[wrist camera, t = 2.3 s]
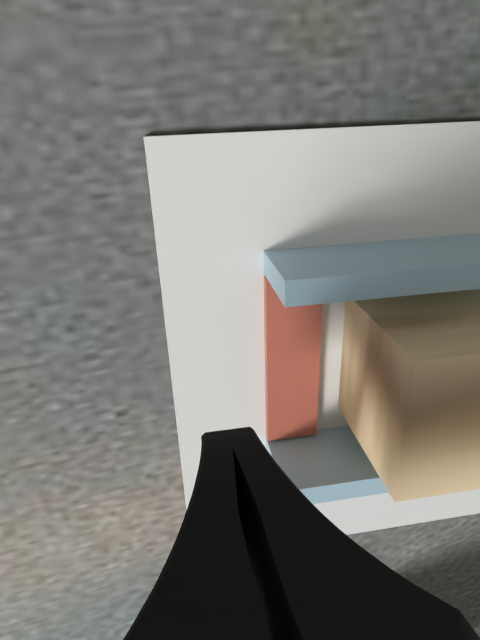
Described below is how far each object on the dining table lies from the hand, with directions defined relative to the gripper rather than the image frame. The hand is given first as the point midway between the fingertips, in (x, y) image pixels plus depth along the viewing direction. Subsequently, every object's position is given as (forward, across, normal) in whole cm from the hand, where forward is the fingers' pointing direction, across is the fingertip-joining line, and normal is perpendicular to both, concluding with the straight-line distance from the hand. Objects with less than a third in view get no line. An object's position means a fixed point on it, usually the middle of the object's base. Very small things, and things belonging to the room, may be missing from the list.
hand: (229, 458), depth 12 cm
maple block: (+5, -8, 0) cm, 9 cm away
